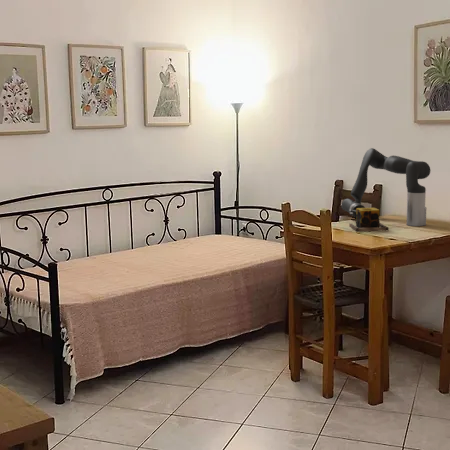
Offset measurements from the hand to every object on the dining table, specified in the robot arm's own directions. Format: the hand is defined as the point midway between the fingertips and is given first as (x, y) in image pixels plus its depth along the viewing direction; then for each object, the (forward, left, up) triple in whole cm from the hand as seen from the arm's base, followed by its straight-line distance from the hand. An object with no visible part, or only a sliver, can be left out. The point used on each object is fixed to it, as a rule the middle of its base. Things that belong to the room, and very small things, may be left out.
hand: (365, 215), depth 364 cm
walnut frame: (0, +6, -6) cm, 8 cm away
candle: (0, +5, -6) cm, 8 cm away
